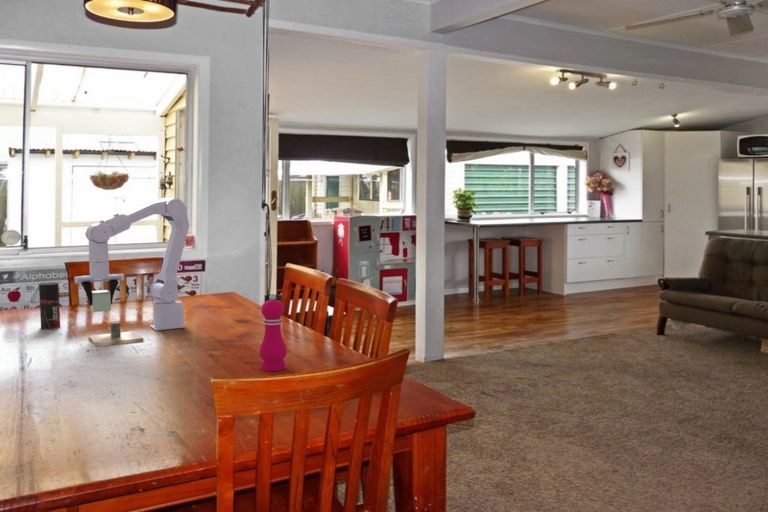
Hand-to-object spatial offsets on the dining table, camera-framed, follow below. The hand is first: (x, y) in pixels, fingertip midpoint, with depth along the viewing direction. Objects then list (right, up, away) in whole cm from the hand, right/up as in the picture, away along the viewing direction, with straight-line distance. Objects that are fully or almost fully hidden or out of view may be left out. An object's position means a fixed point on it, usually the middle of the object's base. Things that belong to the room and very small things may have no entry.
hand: (100, 304), depth 217 cm
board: (+7, -11, -4) cm, 13 cm away
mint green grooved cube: (0, -2, 0) cm, 2 cm away
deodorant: (-23, -9, +14) cm, 28 cm away
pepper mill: (+61, -15, -36) cm, 72 cm away
